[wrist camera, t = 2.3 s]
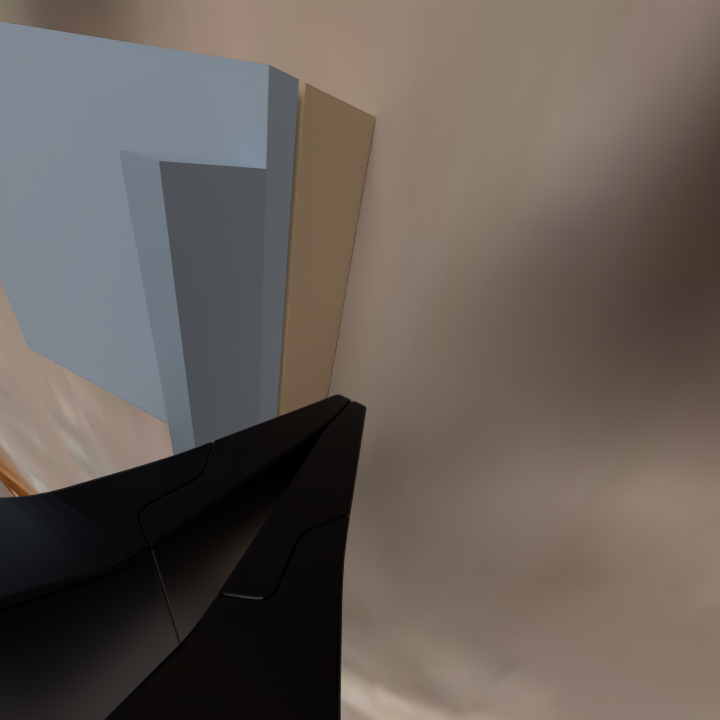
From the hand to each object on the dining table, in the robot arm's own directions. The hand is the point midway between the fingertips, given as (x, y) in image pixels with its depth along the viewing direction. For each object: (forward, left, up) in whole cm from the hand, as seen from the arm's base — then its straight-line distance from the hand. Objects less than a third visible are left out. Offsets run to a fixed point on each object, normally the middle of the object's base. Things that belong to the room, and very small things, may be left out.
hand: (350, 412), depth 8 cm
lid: (+12, 0, -3) cm, 12 cm away
